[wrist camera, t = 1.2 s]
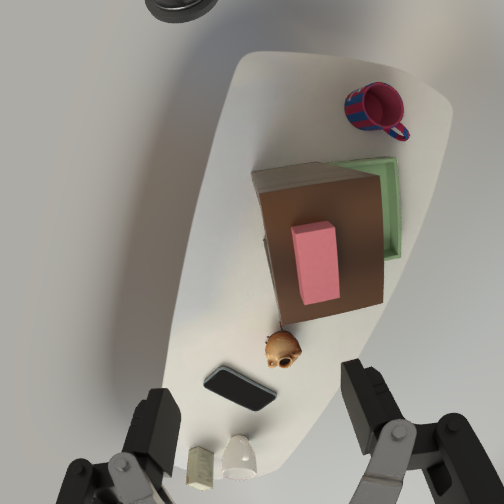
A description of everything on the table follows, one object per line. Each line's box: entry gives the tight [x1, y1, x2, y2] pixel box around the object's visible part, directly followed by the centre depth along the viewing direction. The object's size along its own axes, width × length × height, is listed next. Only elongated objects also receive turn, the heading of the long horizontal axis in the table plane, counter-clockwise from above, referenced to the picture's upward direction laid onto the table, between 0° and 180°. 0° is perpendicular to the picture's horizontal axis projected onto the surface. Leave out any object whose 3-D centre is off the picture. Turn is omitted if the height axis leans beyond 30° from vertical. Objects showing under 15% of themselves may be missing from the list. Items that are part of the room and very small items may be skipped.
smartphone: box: [203, 366, 276, 411], centre depth 55 cm, size 7×1×15 cm
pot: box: [265, 321, 302, 368], centre depth 47 cm, size 6×8×6 cm
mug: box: [222, 435, 257, 480], centre depth 57 cm, size 12×8×11 cm
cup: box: [345, 82, 410, 141], centre depth 35 cm, size 7×10×7 cm
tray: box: [325, 157, 401, 261], centre depth 42 cm, size 16×11×4 cm
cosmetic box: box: [186, 447, 214, 491], centre depth 60 cm, size 6×4×12 cm
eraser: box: [291, 221, 340, 305], centre depth 22 cm, size 6×3×2 cm, turn 11°
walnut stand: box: [251, 162, 384, 325], centre depth 33 cm, size 12×10×21 cm
